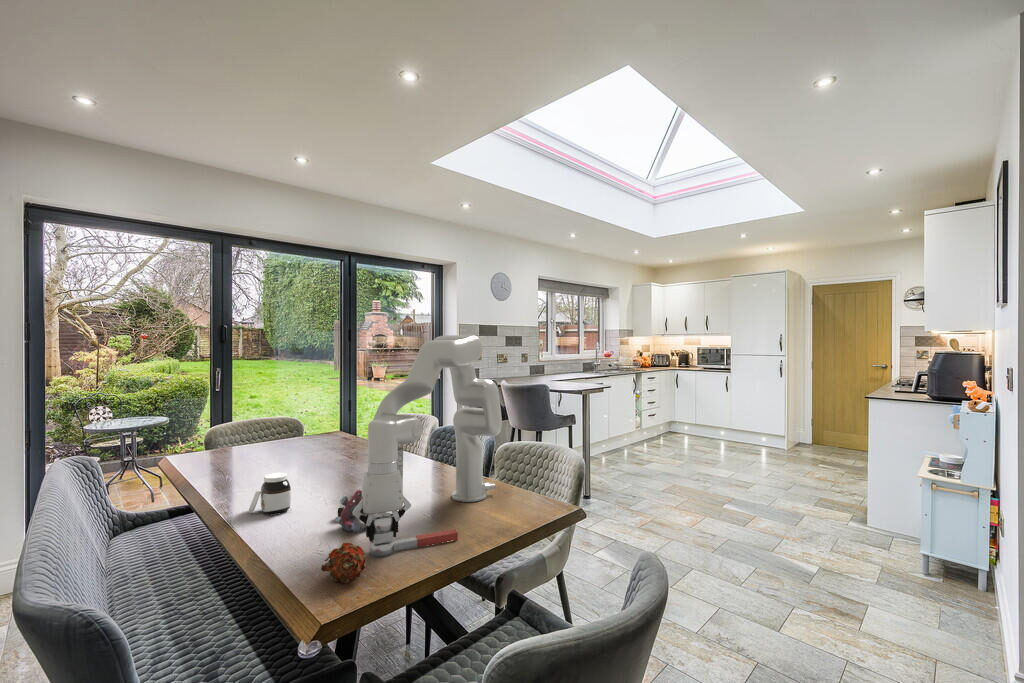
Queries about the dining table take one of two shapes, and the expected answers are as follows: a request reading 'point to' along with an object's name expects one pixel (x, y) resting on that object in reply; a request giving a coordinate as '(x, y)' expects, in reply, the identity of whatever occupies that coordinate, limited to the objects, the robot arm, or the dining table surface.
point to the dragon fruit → (345, 563)
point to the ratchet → (412, 542)
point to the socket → (382, 528)
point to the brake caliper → (351, 514)
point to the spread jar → (273, 494)
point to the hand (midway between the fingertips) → (382, 536)
